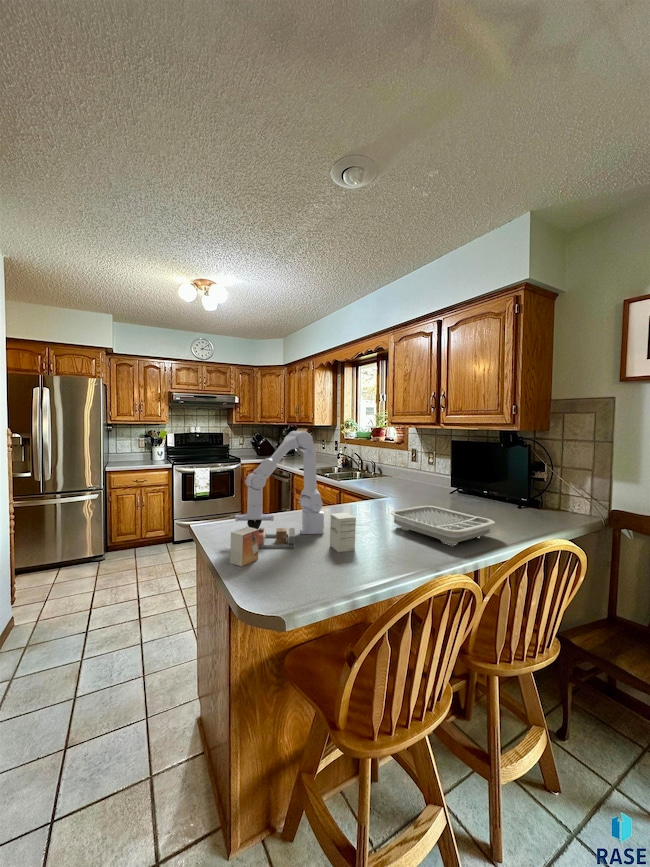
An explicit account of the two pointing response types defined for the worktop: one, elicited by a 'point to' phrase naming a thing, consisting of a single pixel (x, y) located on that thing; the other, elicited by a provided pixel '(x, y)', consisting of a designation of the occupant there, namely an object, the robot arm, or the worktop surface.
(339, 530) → the supplement box
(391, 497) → the worktop surface
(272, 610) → the worktop surface
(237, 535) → the small box
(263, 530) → the free jaw
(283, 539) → the walnut block
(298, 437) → the robot arm
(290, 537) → the vise body
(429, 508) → the dish rack
